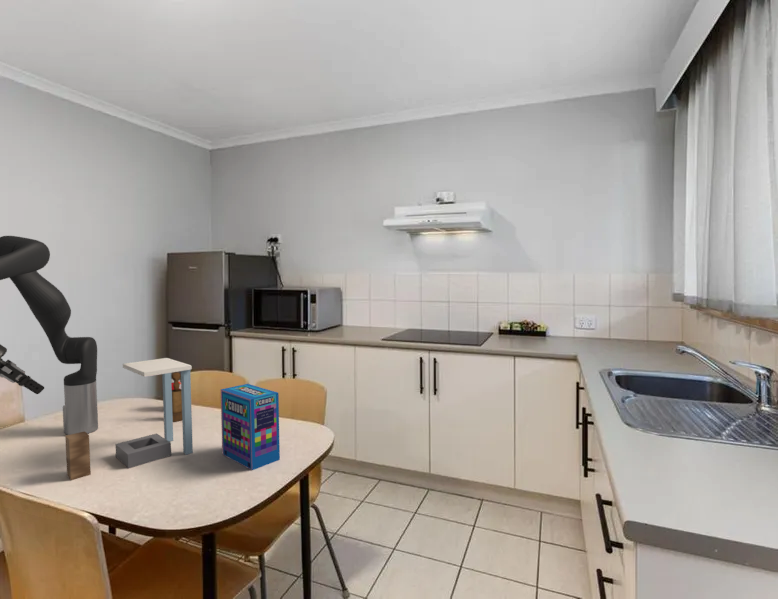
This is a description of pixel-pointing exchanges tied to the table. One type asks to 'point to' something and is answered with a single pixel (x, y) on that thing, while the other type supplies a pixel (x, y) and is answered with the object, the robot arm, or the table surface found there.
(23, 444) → the table surface
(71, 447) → the walnut peg
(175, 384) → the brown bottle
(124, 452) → the socket
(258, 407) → the box
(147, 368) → the two-legged side table
